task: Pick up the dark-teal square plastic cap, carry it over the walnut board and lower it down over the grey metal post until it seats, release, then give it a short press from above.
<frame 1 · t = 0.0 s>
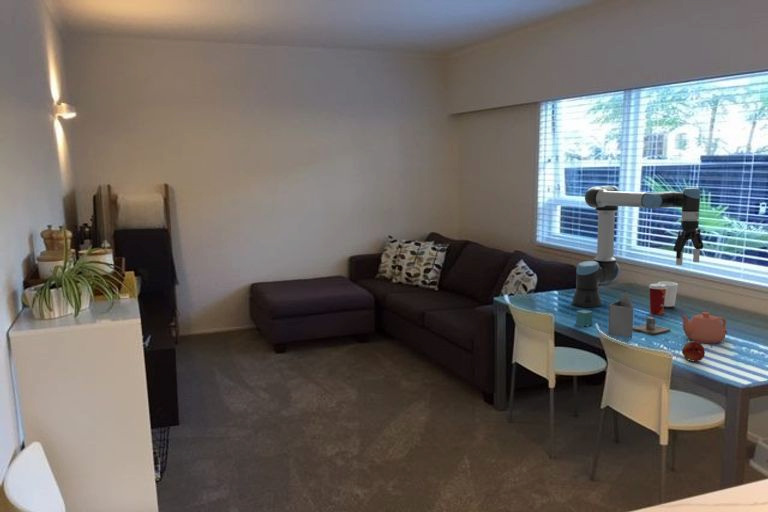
hand: (687, 263, 290), 28 cm above the table, fingers open, 13 cm apart
post block: (650, 330, 277), on the table
coffee cup: (656, 313, 307), on the table
planter: (617, 333, 274), on the table
fruit: (692, 361, 234), on the table
cup: (666, 306, 321), on the table
cap: (584, 324, 289), on the table
teapot: (702, 340, 261), on the table
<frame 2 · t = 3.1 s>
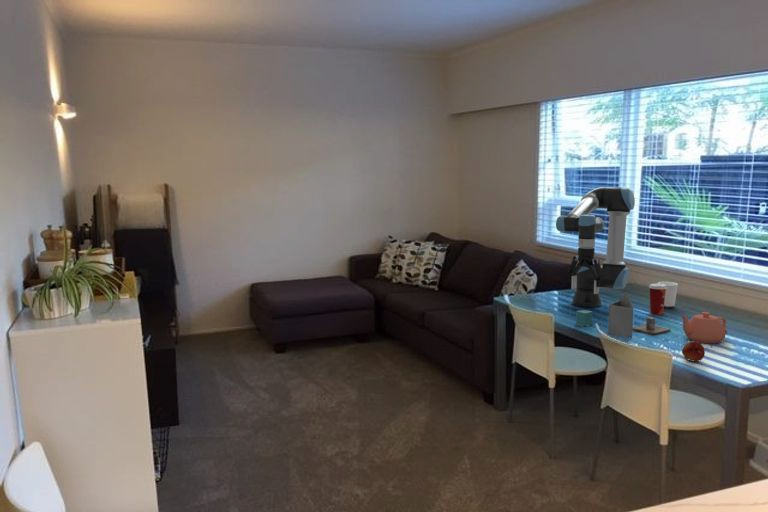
hand: (584, 291, 286), 17 cm above the table, fingers open, 13 cm apart
nothing on the table moved.
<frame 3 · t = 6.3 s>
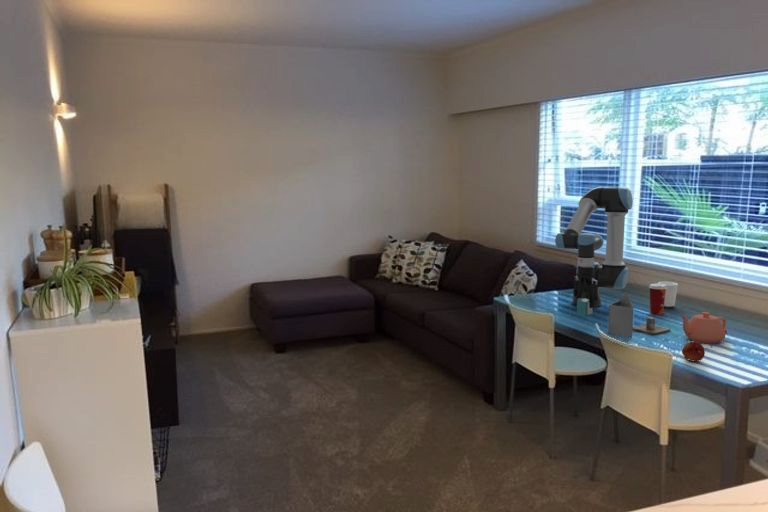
hand: (584, 312, 288), 6 cm above the table, fingers closed on cap, 5 cm apart
cap: (584, 313, 289), point 6 cm above the table, touching gripper
everything else where it was.
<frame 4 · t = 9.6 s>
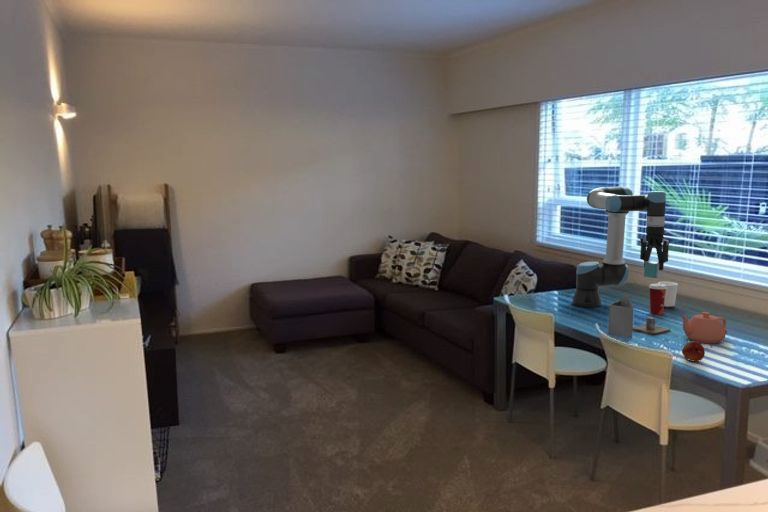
hand: (653, 276, 273), 26 cm above the table, fingers closed on cap, 5 cm apart
cap: (652, 276, 273), point 26 cm above the table, touching gripper
everything else where it was.
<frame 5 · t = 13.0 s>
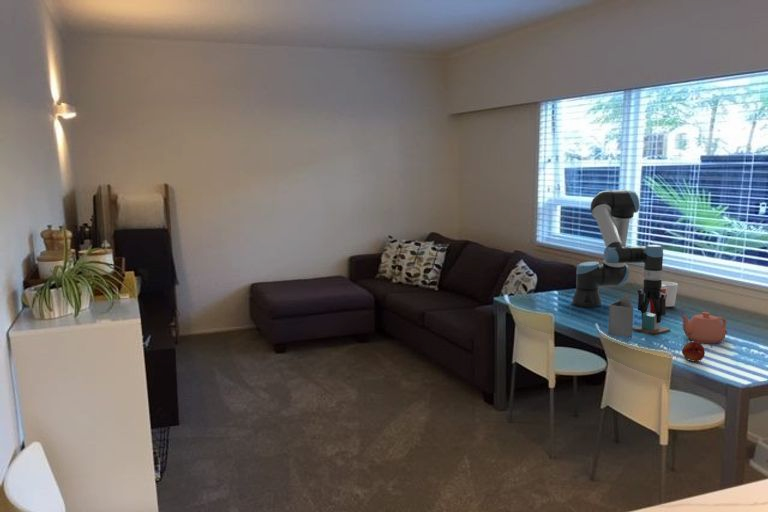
hand: (650, 327, 277), 1 cm above the table, fingers closed on cap, 5 cm apart
cap: (650, 328, 277), point 1 cm above the table, touching gripper, post block
everything else where it was.
when the fingers open (1 cm above the table, at t = 13.4 s): cap stays where it is, resting on post block.
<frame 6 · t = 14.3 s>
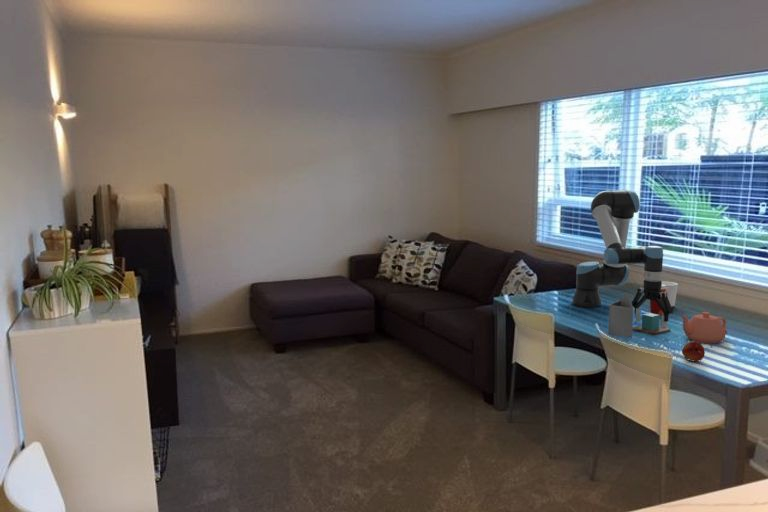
hand: (650, 324, 276), 3 cm above the table, fingers open, 13 cm apart
cap: (650, 328, 277), point 1 cm above the table, touching post block
everything else where it was.
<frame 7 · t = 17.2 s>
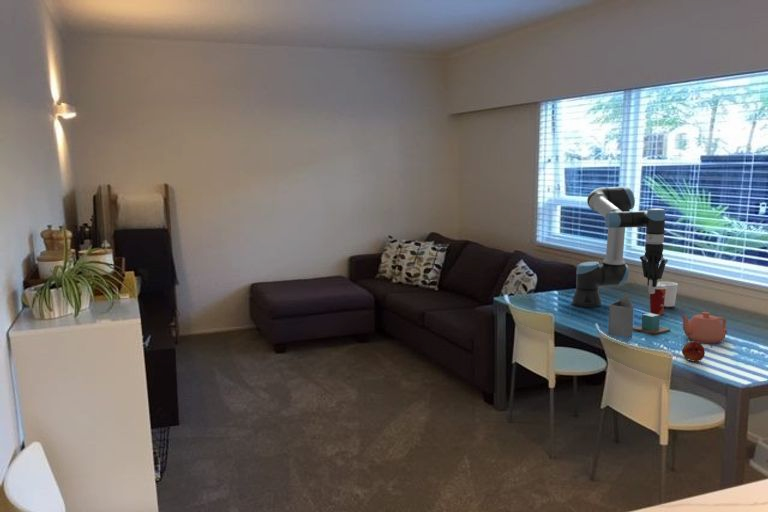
hand: (651, 293, 275), 18 cm above the table, fingers closed
nothing on the table moved.
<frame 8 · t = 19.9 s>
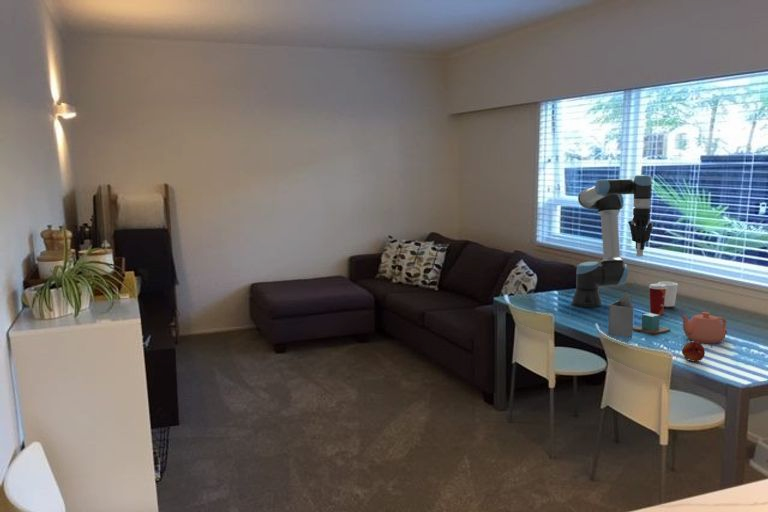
hand: (639, 256, 288), 32 cm above the table, fingers closed
nothing on the table moved.
at the end: cap 0.3 cm from the post block (horizontally); cap point 1.0 cm above the table; cap tilted 0° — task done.
